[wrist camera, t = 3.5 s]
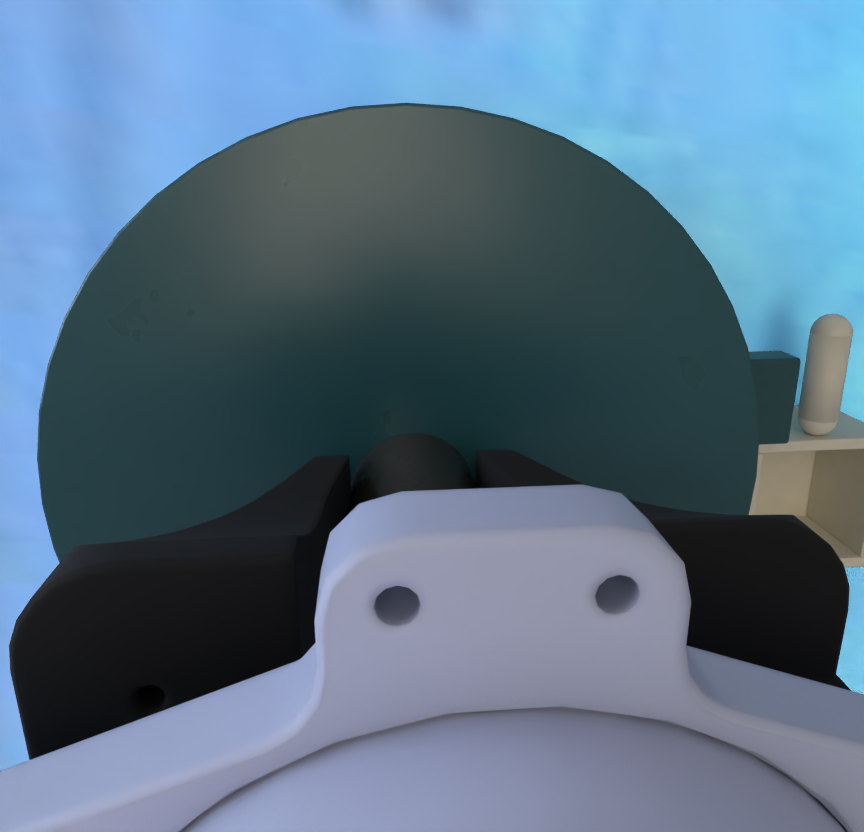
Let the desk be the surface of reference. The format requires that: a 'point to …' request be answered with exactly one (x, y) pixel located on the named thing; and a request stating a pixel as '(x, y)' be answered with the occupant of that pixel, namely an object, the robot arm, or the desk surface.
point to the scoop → (819, 451)
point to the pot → (775, 393)
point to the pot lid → (392, 330)
